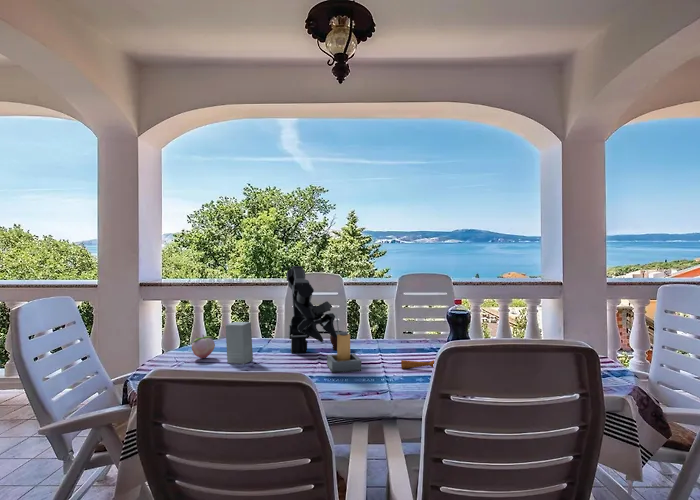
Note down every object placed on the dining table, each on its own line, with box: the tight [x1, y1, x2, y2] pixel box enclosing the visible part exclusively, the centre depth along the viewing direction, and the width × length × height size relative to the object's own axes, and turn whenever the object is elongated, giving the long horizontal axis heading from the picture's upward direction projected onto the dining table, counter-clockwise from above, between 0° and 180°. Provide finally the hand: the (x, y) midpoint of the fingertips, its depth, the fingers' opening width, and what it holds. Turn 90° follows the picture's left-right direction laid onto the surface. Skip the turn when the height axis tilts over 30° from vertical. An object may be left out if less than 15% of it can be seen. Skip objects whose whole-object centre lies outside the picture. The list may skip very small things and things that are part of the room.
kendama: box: [400, 359, 435, 370], centre depth 156 cm, size 6×6×20 cm
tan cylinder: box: [336, 330, 351, 361], centre depth 158 cm, size 5×5×13 cm
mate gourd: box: [329, 314, 343, 351], centre depth 190 cm, size 8×8×15 cm
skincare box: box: [225, 321, 254, 365], centre depth 167 cm, size 8×7×16 cm
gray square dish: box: [326, 353, 362, 374], centre depth 158 cm, size 11×11×4 cm
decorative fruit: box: [191, 334, 216, 359], centre depth 172 cm, size 9×8×10 cm
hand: (329, 339), depth 162 cm, fingers open, 9 cm apart
